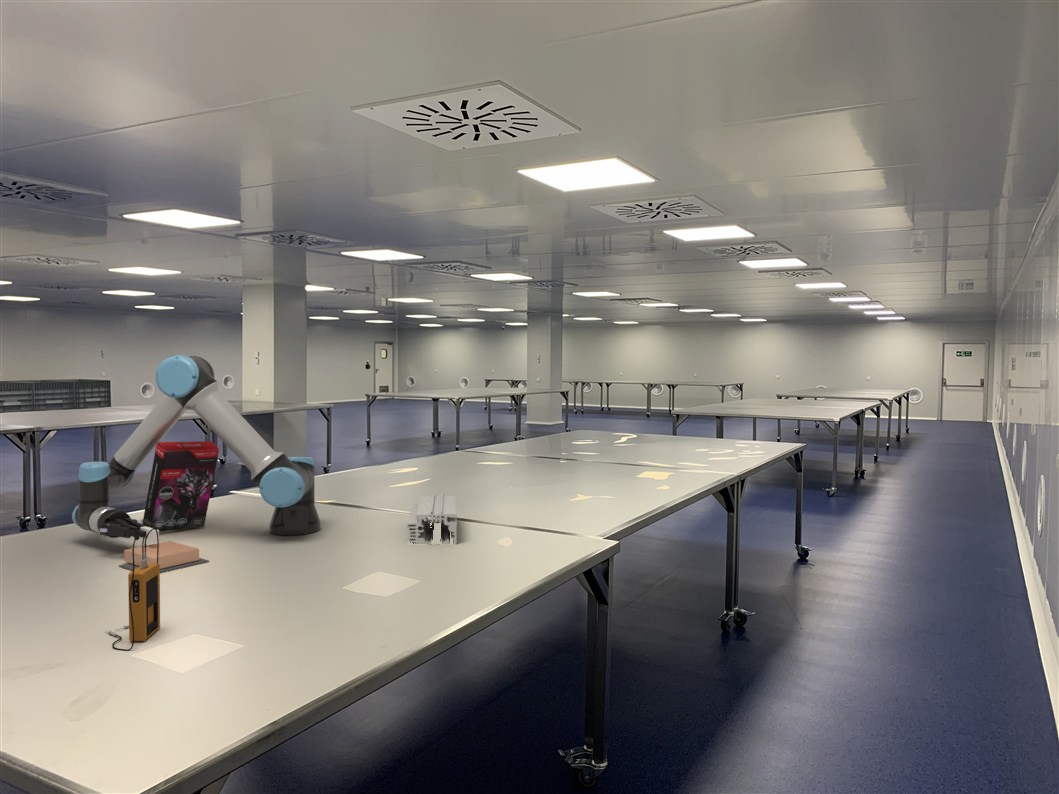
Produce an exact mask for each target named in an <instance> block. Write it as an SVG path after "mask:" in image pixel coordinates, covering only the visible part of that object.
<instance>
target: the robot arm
mask: <svg viewBox="0 0 1059 794" xmlns="http://www.w3.org/2000/svg"><path fill="white" fill-rule="evenodd" d="M155 371H156V372H155V378H154V379H155V383H156V385H157V388H158V389H159V391H161V393H163V394H164V395H163V397H161V399H160V400H159V401H158V402H157V404H156V405H155V406H154V407H153V408H152V410H150V412H149V413H148V414H147V415H146V417H145V418H144V419H143V420H142V422H140V423H139V425H138V426H137V428H135V430H134V431H133V433H131V435H130V436H129V437H127V440H125V442H124V443H123V444H122V445H121V446H120V448H119V449H118V450H117V452H115V454H114V455H113V457H111V458H110V459H109V461H108V462H106V461H88V462H87V461H86V462H82V463H81V464H80V465H79V469H78V475H77V478H78V503H77V504H78V505H77V504H76V506H75V507H74V509H73V511H72V513H71V520H72V522H73V523H74V524H75V525H76V526H77V527H79V528H81V529H82V530H85V531H90V532H92V533H93V532H94V533H96V534H99V535H100V536H104V537H109V538H112V539H115V538H125V539H130V538H133V541H134V540H135V538H136V537H137V536H138V535H140V534H143V533H144V534H145V538H146V536H147V534H148V532H149V531H150V530H151V529H153V528H154V524H153V523H151V522H149V521H148V519H147V518H145V519H143V518H142V519H140V521H138V519H135V518H133V519H132V518H131V515H129V514H128V513H127V512H126V511H124V510H121V509H117V508H113V507H110V492H111V491H114V490H116V489H119V488H123V487H125V486H127V485H128V484H129V483H131V482H132V480H133V479H134V476H135V472H136V471H137V470H138V469H139V468H140V467H141V465H142V464H143V462H144V461H145V460H146V459H147V458H148V457H149V456H150V454H151V453H152V452H153V451H154V449H156V444H157V442H162V440H163V439H164V437H165V436H166V435H167V434H168V433H169V431H170V430H171V429H172V428H173V427H174V426H175V424H176V423H178V421H179V420H180V419H181V417H182V416H183V415H184V413H185V412H186V411H187V410H189V411H193V412H195V414H197V416H198V417H199V418H200V419H201V420H202V421H203V422H204V423H205V424H206V425H207V426H208V428H210V430H211V431H213V433H214V434H215V435H216V436H217V438H219V439H220V441H222V442H223V444H224V445H225V446H226V447H228V449H230V451H231V452H232V453H233V454H234V455H235V456H236V457H237V459H239V460H240V461H241V462H242V464H244V466H245V467H246V468H247V469H248V470H249V471H250V473H251V474H250V475H251V477H250V480H251V481H252V482H253V483H254V484H255V486H257V488H258V489H259V493H260V494H259V495H260V496H261V498H262V499H263V500H264V501H265V502H266V504H268V505H270V506H272V507H274V511H273V513H272V517H271V520H270V523H269V533H270V534H273V535H279V536H300V535H301V536H302V535H306V534H307V535H308V534H312V533H315V532H319V531H320V530H321V519H320V517H319V513H318V511H317V508H316V506H315V496H316V495H315V494H316V493H315V469H316V465H315V460H314V458H313V457H311V456H310V457H309V456H287V455H286V454H285V453H284V452H282V451H278V452H277V451H275V450H274V449H273V448H272V447H271V446H270V445H269V444H268V442H267V441H266V440H265V439H264V438H263V437H262V436H261V434H259V433H258V432H257V431H256V429H254V427H252V425H251V424H250V423H249V422H248V421H247V420H246V419H245V418H244V417H243V416H242V415H241V414H240V412H239V411H238V410H236V408H234V406H233V405H232V404H231V403H230V402H229V400H227V398H225V396H223V394H222V393H221V392H220V391H219V382H218V380H216V379H215V371H214V368H213V366H212V365H211V363H210V362H209V361H207V360H206V359H204V358H203V357H201V356H197V355H182V354H177V355H174V356H170V357H167V358H165V359H164V360H163V361H161V362H160V364H159V365H158V367H157V369H156V370H155ZM157 531H158V539H159V540H160V532H159V530H157ZM143 537H144V535H141V536H139V537H138V538H137V539H136V541H140V538H141V539H143ZM146 541H150V542H157V533H156V530H152V531H151V532H150V533H149V535H148V537H147V540H146Z"/></svg>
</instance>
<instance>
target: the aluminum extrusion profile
mask: <svg viewBox="0 0 1059 794" xmlns="http://www.w3.org/2000/svg"><path fill="white" fill-rule="evenodd" d="M429 517H431V518H430V519H429ZM442 517H443V519H442ZM457 517H458V511H457V495H444V493H441V495H436V494H435V493H432V495H420V497H419V501H418V502H417V503H412V504H411V508H410V512H409V515H408V519H407V521H406V525H407V527H406V528H407V529H408V535H407V539H406V543H407V542H410V543H411V542H412V543H413V544H414V543H415V544H431V542H432V540H433V530H434V522H441V539H440V542H442V544H450V532H451V539H453V545H457V544H458V538H457V536H458V533H457V532H458V531H457V529H458V523H457V522H458V520H457ZM430 521H432V525H431V526H430V523H431V522H430ZM430 527H432V528H430Z"/></svg>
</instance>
